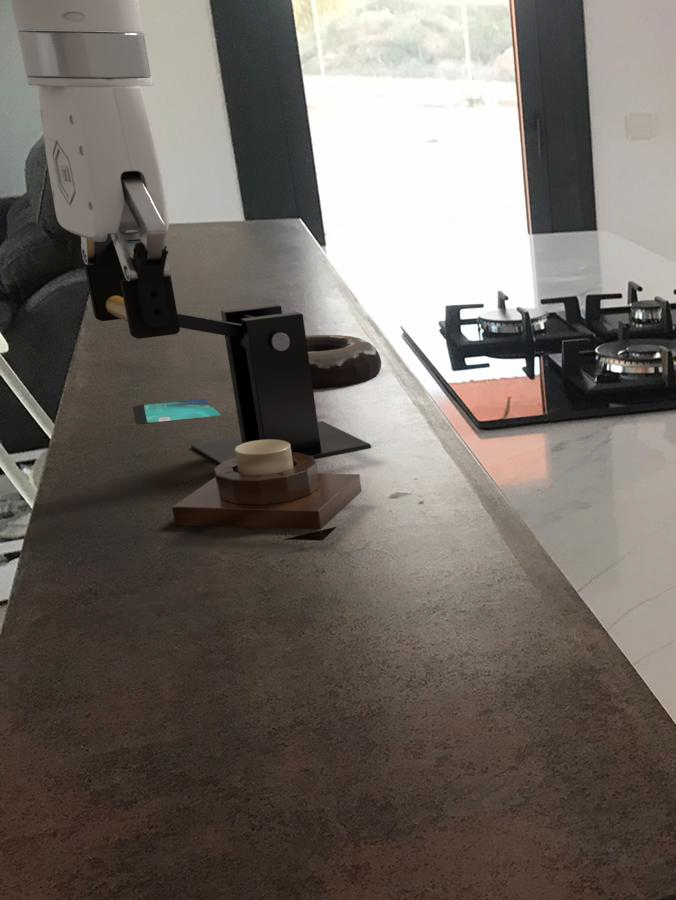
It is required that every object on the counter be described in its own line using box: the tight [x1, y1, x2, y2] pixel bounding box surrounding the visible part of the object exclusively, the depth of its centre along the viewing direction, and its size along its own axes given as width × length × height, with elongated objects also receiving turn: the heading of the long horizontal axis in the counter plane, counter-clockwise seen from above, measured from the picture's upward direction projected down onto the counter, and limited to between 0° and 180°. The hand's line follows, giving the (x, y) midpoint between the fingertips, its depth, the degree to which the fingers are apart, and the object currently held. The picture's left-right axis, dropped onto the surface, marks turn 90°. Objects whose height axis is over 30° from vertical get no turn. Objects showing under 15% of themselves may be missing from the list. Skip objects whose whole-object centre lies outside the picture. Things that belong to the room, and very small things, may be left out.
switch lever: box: [106, 296, 254, 347], centre depth 96 cm, size 12×5×2 cm, turn 134°
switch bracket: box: [190, 303, 372, 466], centre depth 101 cm, size 11×9×12 cm
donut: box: [306, 334, 382, 390], centre depth 125 cm, size 12×12×4 cm
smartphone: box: [132, 398, 222, 425], centre depth 115 cm, size 7×1×15 cm
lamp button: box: [235, 439, 294, 475], centre depth 89 cm, size 4×4×2 cm
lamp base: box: [171, 452, 362, 542], centre depth 90 cm, size 10×8×4 cm
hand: (136, 325), depth 93 cm, fingers open, 7 cm apart
